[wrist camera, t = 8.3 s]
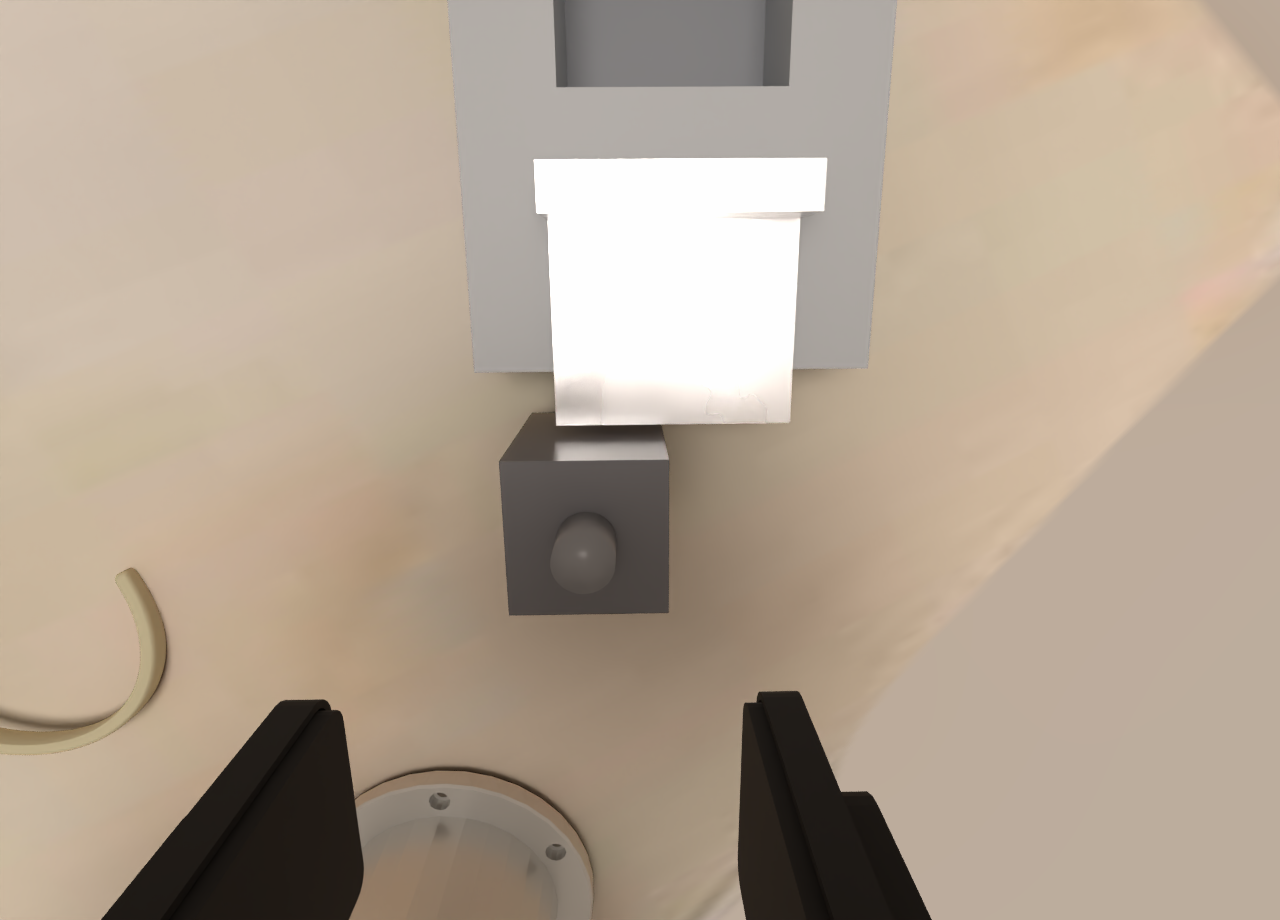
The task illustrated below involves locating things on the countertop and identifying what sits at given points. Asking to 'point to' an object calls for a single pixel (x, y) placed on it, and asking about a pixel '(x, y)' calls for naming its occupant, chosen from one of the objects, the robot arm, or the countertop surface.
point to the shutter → (675, 286)
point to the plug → (586, 519)
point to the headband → (145, 686)
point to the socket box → (668, 138)
